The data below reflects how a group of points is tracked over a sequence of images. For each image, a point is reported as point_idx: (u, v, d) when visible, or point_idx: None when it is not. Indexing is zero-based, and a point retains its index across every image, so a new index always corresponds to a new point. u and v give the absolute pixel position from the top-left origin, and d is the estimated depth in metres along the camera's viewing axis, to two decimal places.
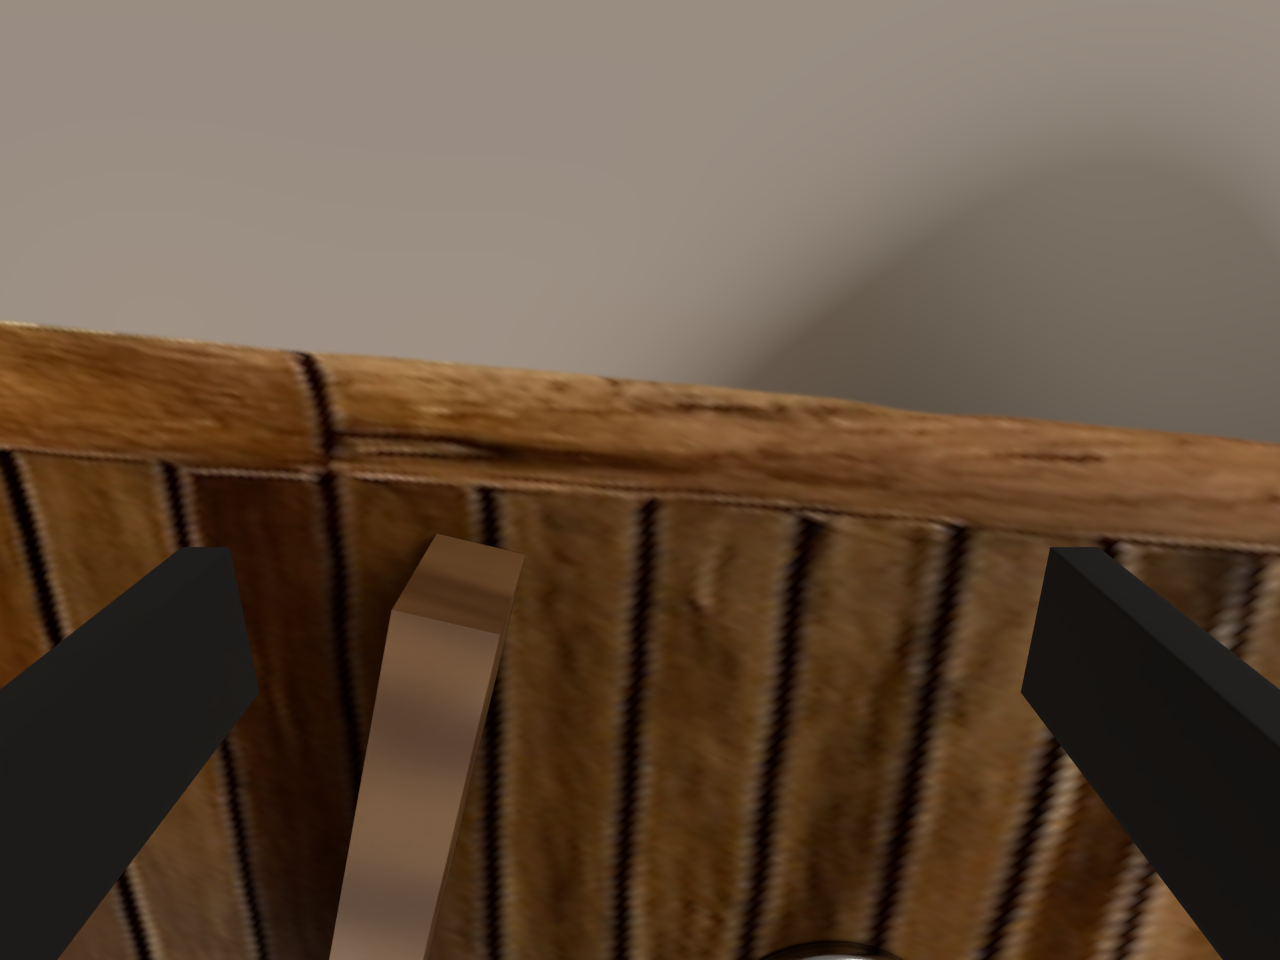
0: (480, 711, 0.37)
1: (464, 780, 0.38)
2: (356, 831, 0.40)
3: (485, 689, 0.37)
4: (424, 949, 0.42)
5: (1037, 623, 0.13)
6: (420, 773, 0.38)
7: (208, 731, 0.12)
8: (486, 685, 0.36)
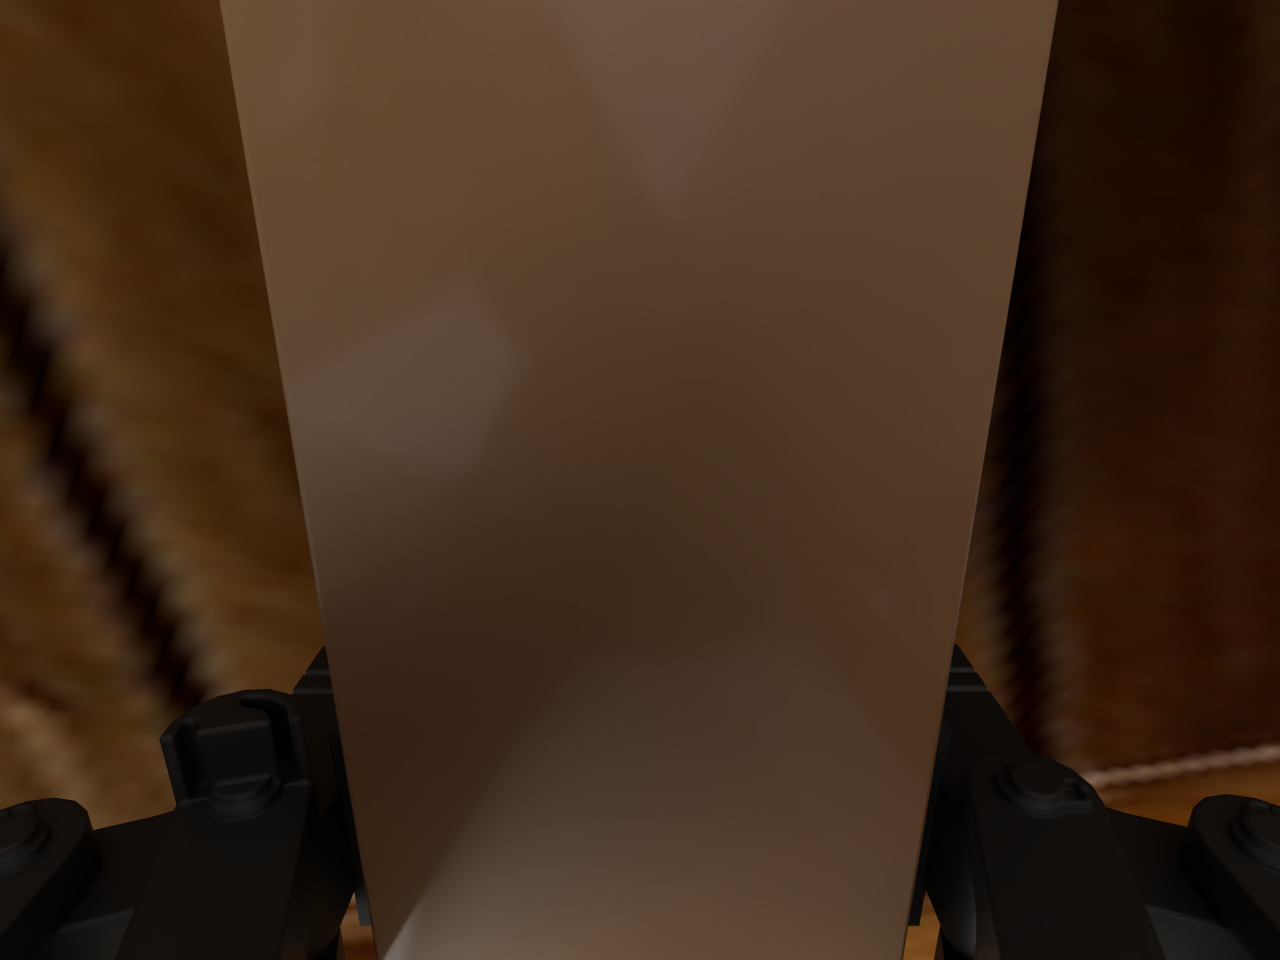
0: (377, 923, 0.07)
1: (307, 495, 0.06)
2: None
3: None
4: None
5: None
6: (601, 478, 0.06)
7: None
8: None
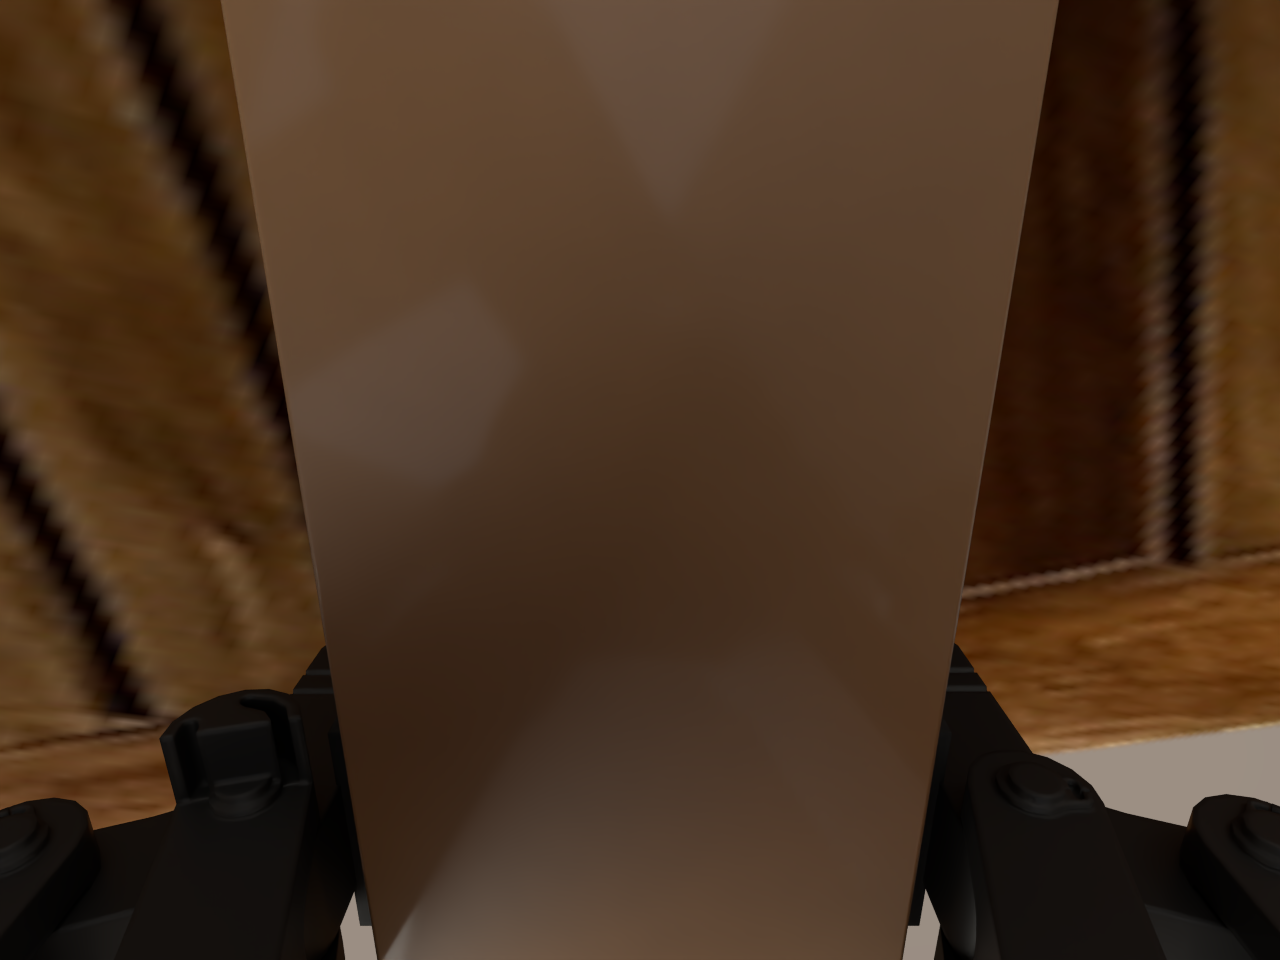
0: (377, 923, 0.07)
1: (308, 496, 0.06)
2: None
3: None
4: None
5: None
6: (602, 481, 0.06)
7: None
8: None
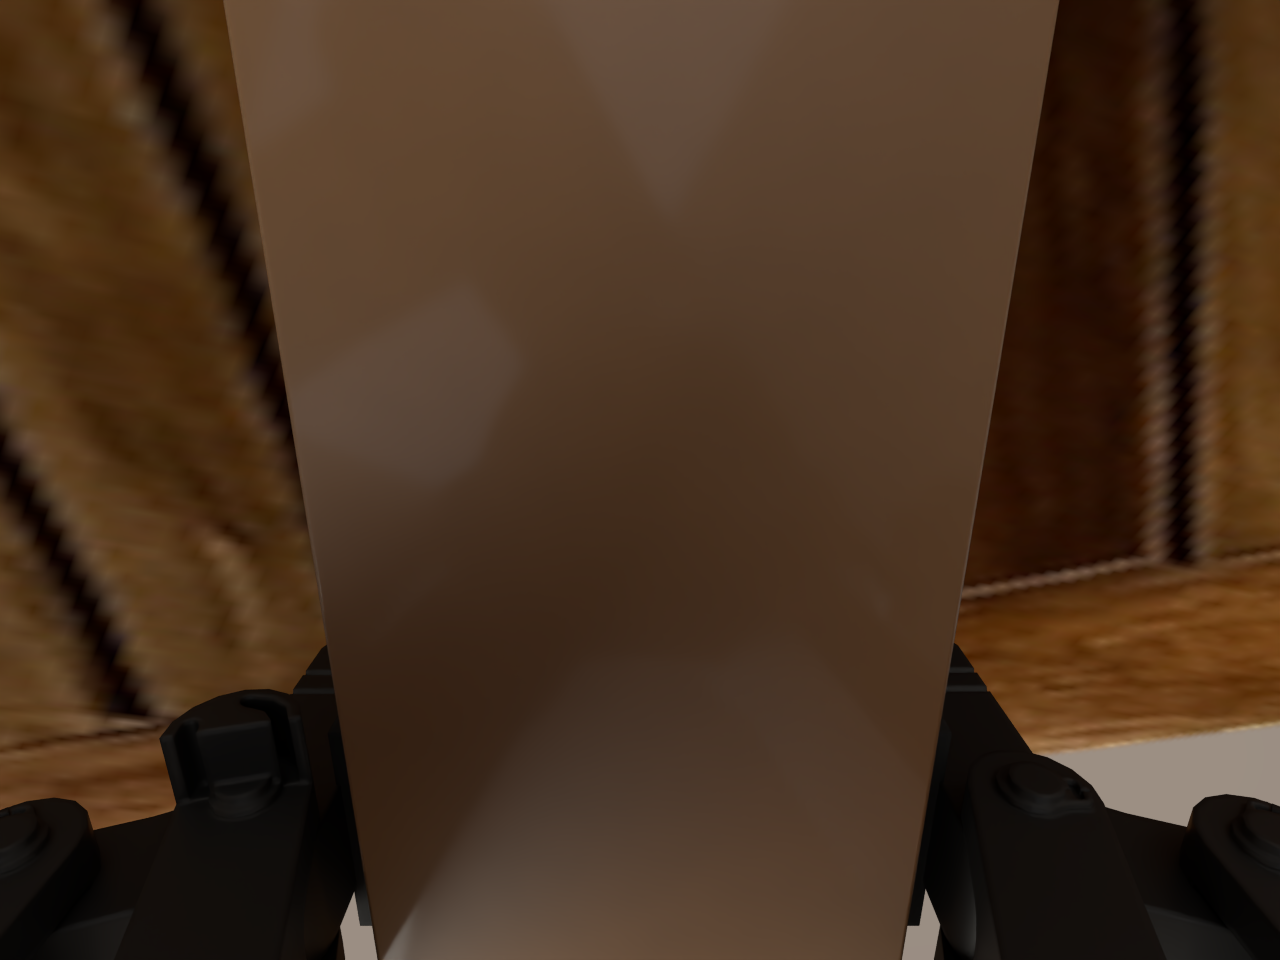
0: (378, 922, 0.07)
1: (309, 495, 0.06)
2: None
3: None
4: None
5: None
6: (602, 480, 0.06)
7: None
8: None
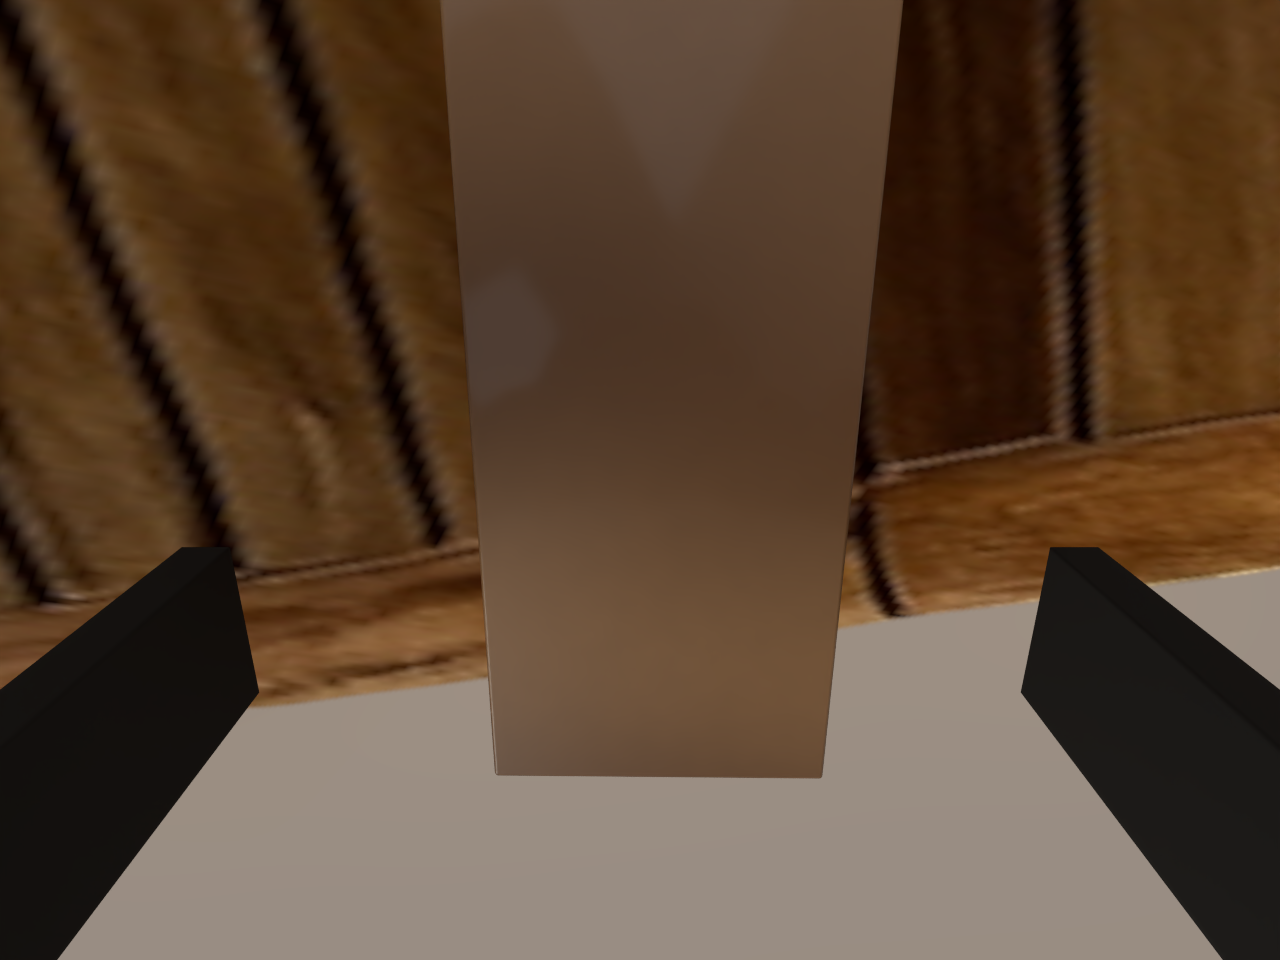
0: (481, 511, 0.10)
1: (456, 169, 0.09)
2: None
3: (487, 598, 0.11)
4: None
5: (1037, 623, 0.13)
6: (644, 158, 0.09)
7: (209, 731, 0.12)
8: (488, 612, 0.11)
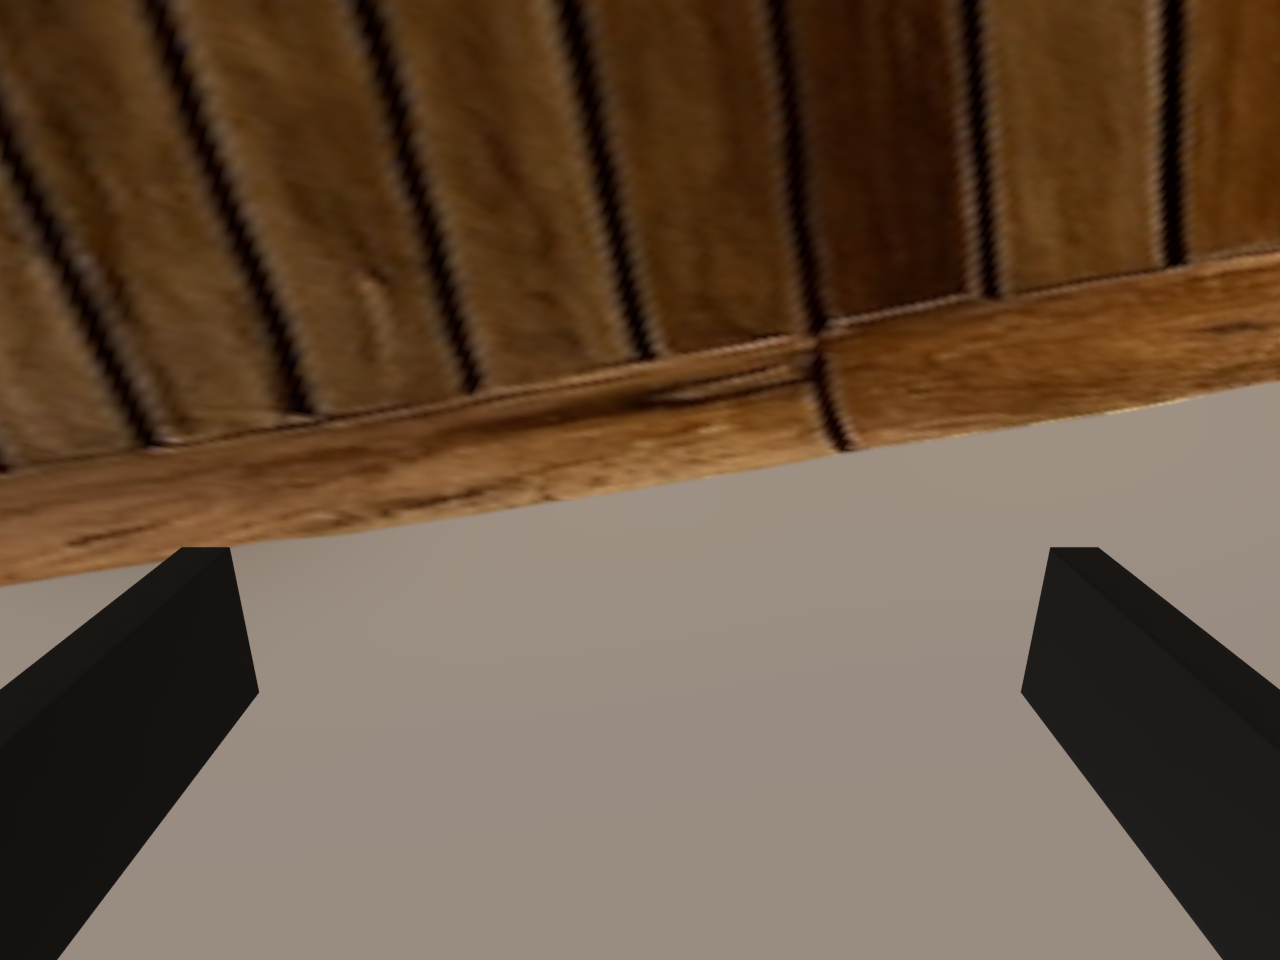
0: None
1: None
2: None
3: None
4: None
5: (1038, 623, 0.13)
6: None
7: (209, 732, 0.12)
8: None
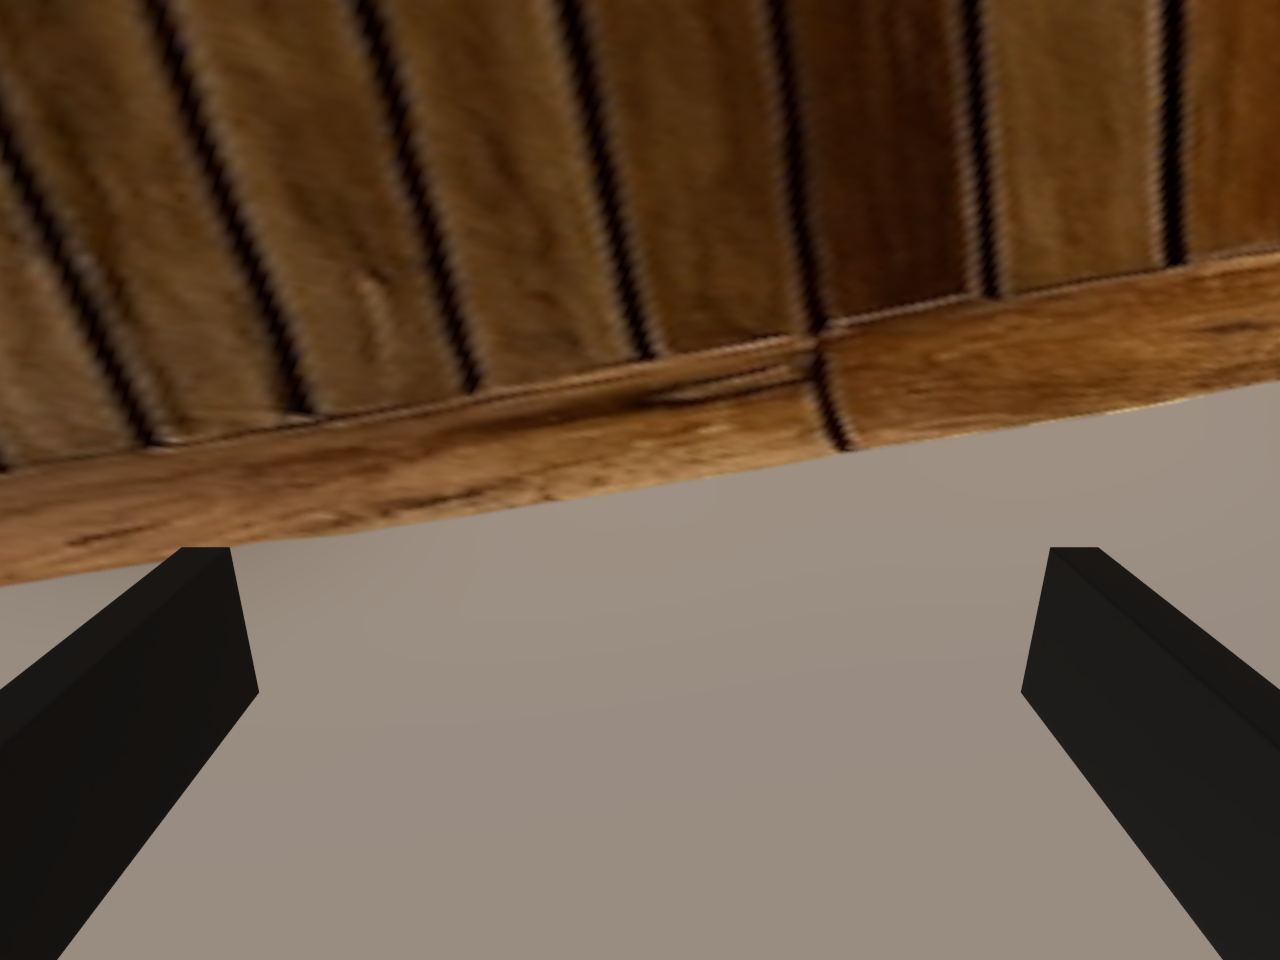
0: None
1: None
2: None
3: None
4: None
5: (1038, 623, 0.13)
6: None
7: (209, 732, 0.12)
8: None
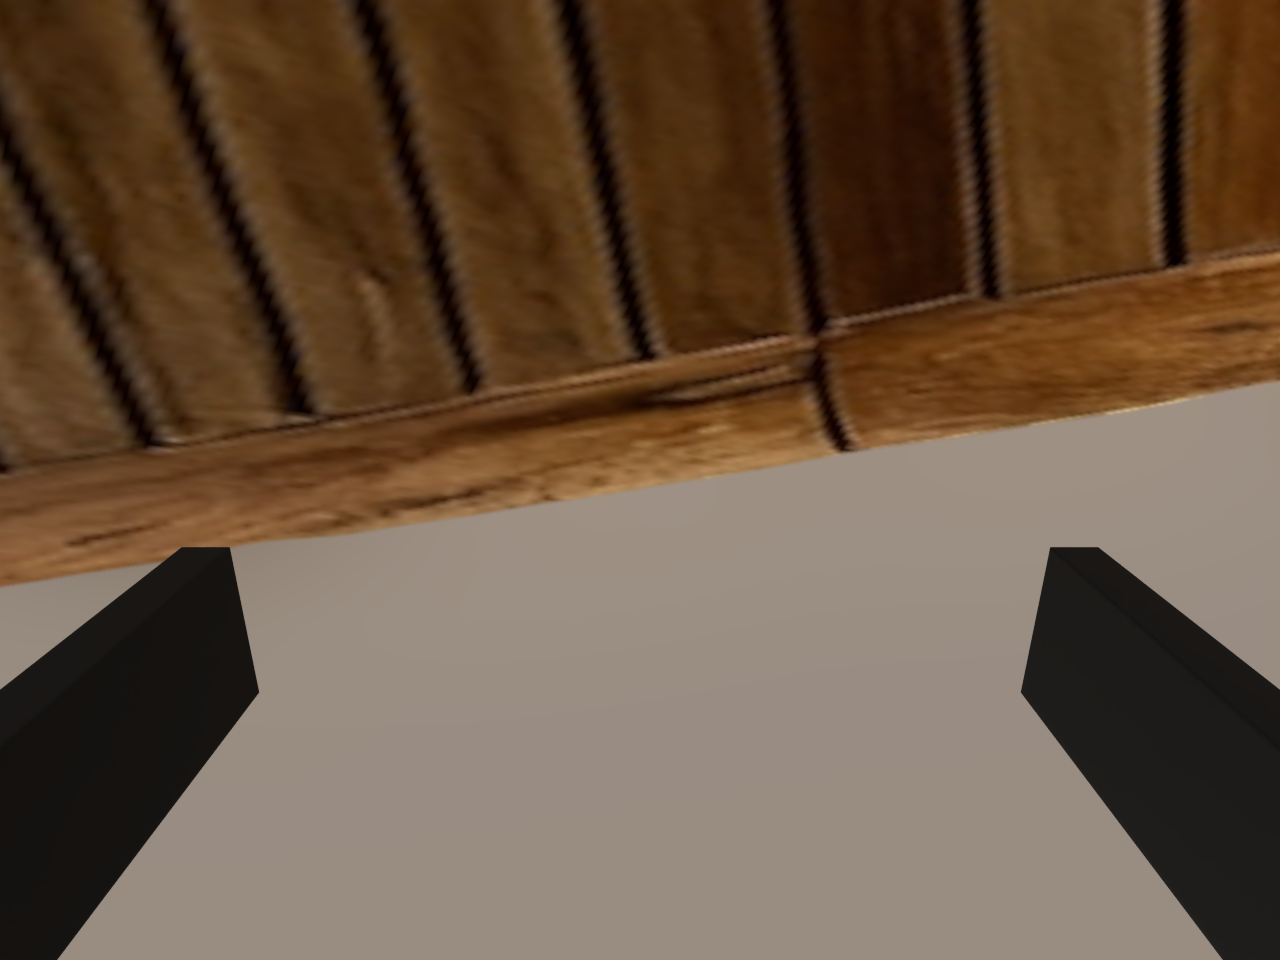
0: None
1: None
2: None
3: None
4: None
5: (1038, 623, 0.13)
6: None
7: (209, 732, 0.12)
8: None
